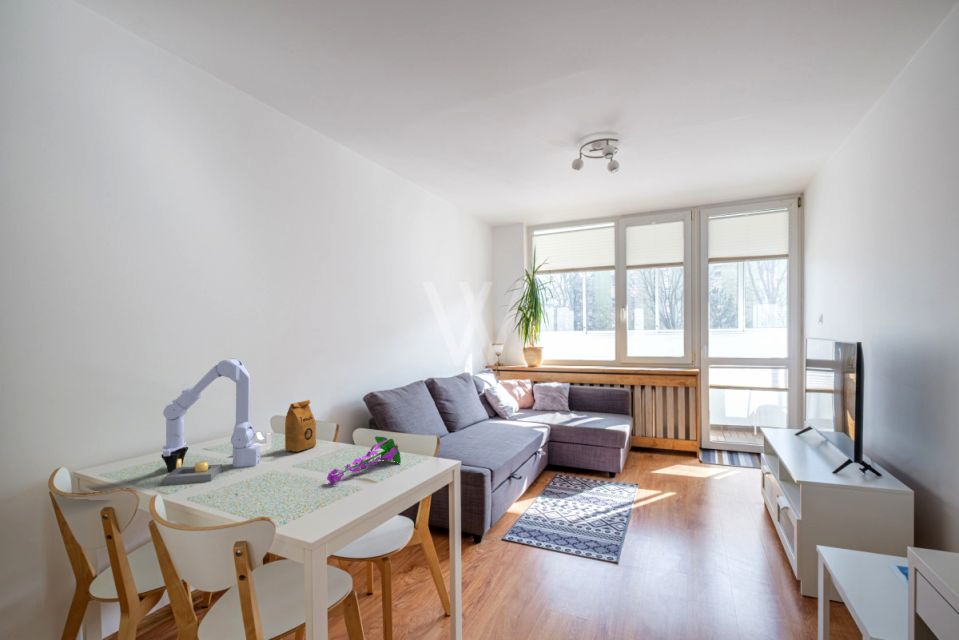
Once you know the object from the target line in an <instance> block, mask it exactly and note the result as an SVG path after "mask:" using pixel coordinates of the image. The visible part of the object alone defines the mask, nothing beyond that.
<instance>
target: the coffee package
mask: <svg viewBox="0 0 959 640" xmlns="http://www.w3.org/2000/svg"><path fill="white" fill-rule="evenodd" d="M309 404H311V401H310V399H307V400H302V401H298V402H294V403H290V405H289V407H288V409H287V413H286V416H285V423H284V424H285V425H284V442H285V443H284V444H285V445H284V447H285V448H284V450H285V452H294V453H297V452H302V451H305V450H309V449H311V448H315V446H316V444H317V436H316V435H317V434H316V432H317V430H316V429H317V428H316V427H317V425H316V419H315V416H314V414H313V412H312V410H311V407H310V405H309Z"/></svg>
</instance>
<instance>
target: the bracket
mask: <svg viewBox="0 0 959 640" xmlns="http://www.w3.org/2000/svg"><path fill="white" fill-rule="evenodd" d="M253 444H254V445H259V446H260V452H261V453H263V452H262V451H264V452H266V451H265V450H267V451H268V449H270V448H271V449H272V432H268V433H265V434H264V436H263V435H262V432H261V431H258V432H255V435H254V441H253ZM271 449H270V450H271Z"/></svg>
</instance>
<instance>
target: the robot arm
mask: <svg viewBox="0 0 959 640" xmlns="http://www.w3.org/2000/svg"><path fill="white" fill-rule="evenodd" d="M221 377H225V378H228V379H230V380H232V381H233V383H235V424H234V427H233V433H232V435H231V438H230V443H231V444H232V467H233V468H247V467H256V466H257V465H258V464H260V461H261V453H260V446H259V445H254V444H253V442H254V441H253V439H255V433H256V432H255V430H254V428H253V422H252V421H251V398H252V397H251V391H252V390H251V389H252V388H251V384H252V382H251V381H252V380H251V379H252V377H251V375H250V374H249V372H248V370H247V369H246V367H245V365H244V363H243V362H242V361H240V360H239V359H238V358H231V357H230V358H228V359H223V360H221V361H219V362H218V363H217V364H215V365H214V366H213V367H212V368H211V369H210V370H209V371H208V372H207V373H206V374H204V376H203V377H202V378H201V379H200V380H199V381H198V382H197V383H196V384H195V385H194V386H193V387H188V388H185V389H183V390H182V391H181V394H180V395H179V396H178V397H177V398H176V399H175V398H174V399H173V400H172V403H169V404H167V405H165V408H164V409H163V412H162V413H163V416H164V418H165V419H166V420H165V425H166V426H165V429H166V430H165V440H166V441H165V445H164V446H162V449H164V450H163V451H162V454H161V458H162V460H163V461H164V463H165V465H166V469H167V472H168V473H171V472H172V471H173V470H175V469H176V465H177V460H178V459H182V465H183V463H184V460H185V456H186V455H187V452H188V451H189V447H188V446H187V440H185V414H186V413H187V411H188V410H189V409H190V408H191V407H192V406H193V405H194V404H195V403H196V402H197V401H198V400H199V399H201V393H202V392H203V391H204V390H205V389H207V387H209V386H210V385H211V384H212V383H213V382H214V381H215V380H216V379H218V378H221Z"/></svg>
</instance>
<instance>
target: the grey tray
mask: <svg viewBox="0 0 959 640" xmlns="http://www.w3.org/2000/svg"><path fill="white" fill-rule="evenodd" d="M222 472H223V464H221V463H220V464H208V471H206V472H200V473H195V465H193V466H190V465H189V466H182V467H178V468H176V469H175V470H173V471H172V472H168V473H167V474H166V475H165V476H164V477H162V478H163V480H162V483H163V484H162V485H163V486H167V485H168V486H169V485H177V484H178V485H180V484H191V483H204V482H212V481H213V480H214V479H215V478H217V476H218V475H220V474H221V473H222Z"/></svg>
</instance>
